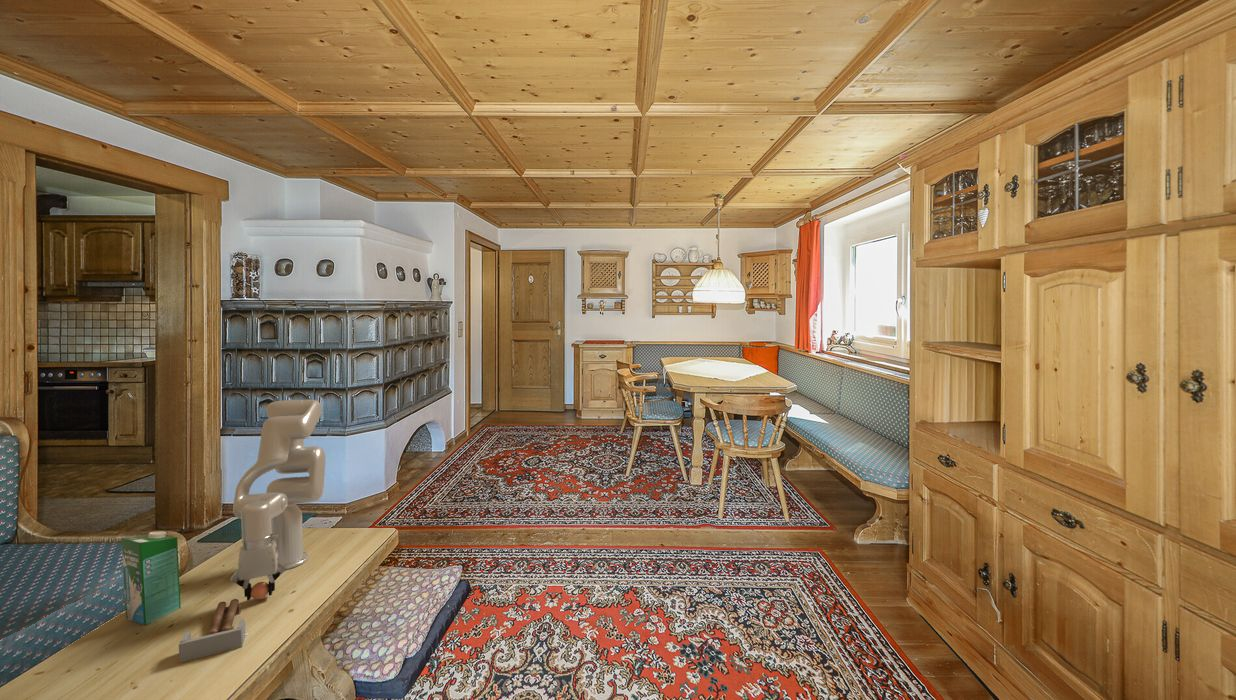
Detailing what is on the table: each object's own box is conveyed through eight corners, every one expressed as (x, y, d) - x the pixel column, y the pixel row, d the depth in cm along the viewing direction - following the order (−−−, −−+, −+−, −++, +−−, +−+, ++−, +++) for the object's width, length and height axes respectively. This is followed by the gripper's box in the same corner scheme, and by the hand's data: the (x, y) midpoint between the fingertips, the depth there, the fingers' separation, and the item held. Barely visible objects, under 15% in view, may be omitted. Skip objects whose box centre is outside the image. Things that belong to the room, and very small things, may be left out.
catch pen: (185, 650, 129) (184, 632, 129) (245, 635, 136) (244, 618, 135) (179, 662, 125) (178, 644, 125) (241, 646, 131) (241, 629, 131)
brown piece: (217, 616, 144) (216, 602, 144) (240, 610, 147) (240, 597, 147) (206, 639, 134) (205, 624, 134) (231, 633, 137) (231, 618, 136)
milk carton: (181, 608, 148) (177, 529, 146) (144, 625, 140) (139, 542, 138) (162, 602, 151) (158, 525, 149) (125, 618, 143) (121, 537, 141)
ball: (252, 595, 154) (251, 581, 153) (271, 591, 156) (270, 577, 156) (249, 604, 150) (248, 589, 149) (268, 599, 152) (267, 585, 151)
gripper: (291, 530, 158) (293, 582, 160) (226, 541, 150) (229, 596, 152) (288, 540, 152) (290, 594, 154) (220, 552, 144) (223, 609, 145)
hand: (260, 595), depth 153 cm, fingers closed on ball, 4 cm apart
